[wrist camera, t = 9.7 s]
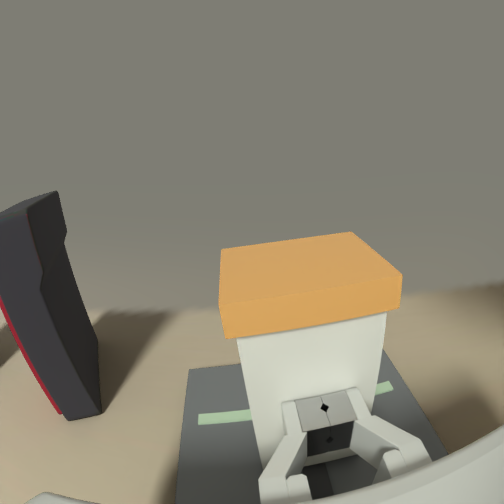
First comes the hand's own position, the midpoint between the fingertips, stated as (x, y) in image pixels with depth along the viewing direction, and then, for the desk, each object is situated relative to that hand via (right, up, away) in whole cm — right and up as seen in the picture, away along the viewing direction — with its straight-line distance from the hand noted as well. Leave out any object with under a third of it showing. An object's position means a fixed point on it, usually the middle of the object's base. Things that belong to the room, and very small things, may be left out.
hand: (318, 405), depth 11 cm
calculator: (-17, -5, +12) cm, 21 cm away
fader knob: (0, -4, +4) cm, 5 cm away
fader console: (+1, -7, 0) cm, 7 cm away
